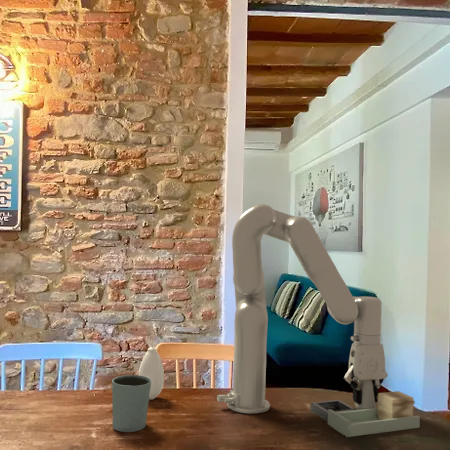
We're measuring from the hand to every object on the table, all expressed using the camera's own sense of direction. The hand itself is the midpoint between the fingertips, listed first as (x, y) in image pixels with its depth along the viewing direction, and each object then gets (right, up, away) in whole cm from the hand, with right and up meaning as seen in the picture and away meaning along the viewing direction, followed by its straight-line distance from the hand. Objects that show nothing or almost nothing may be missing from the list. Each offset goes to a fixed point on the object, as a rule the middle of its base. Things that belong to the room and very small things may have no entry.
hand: (365, 401), depth 152 cm
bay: (0, -3, -10) cm, 11 cm away
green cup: (-66, -1, -16) cm, 68 cm away
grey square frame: (-10, -3, -3) cm, 11 cm away
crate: (+6, -3, -8) cm, 11 cm away
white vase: (-64, -2, +7) cm, 64 cm away
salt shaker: (0, -4, 0) cm, 4 cm away
